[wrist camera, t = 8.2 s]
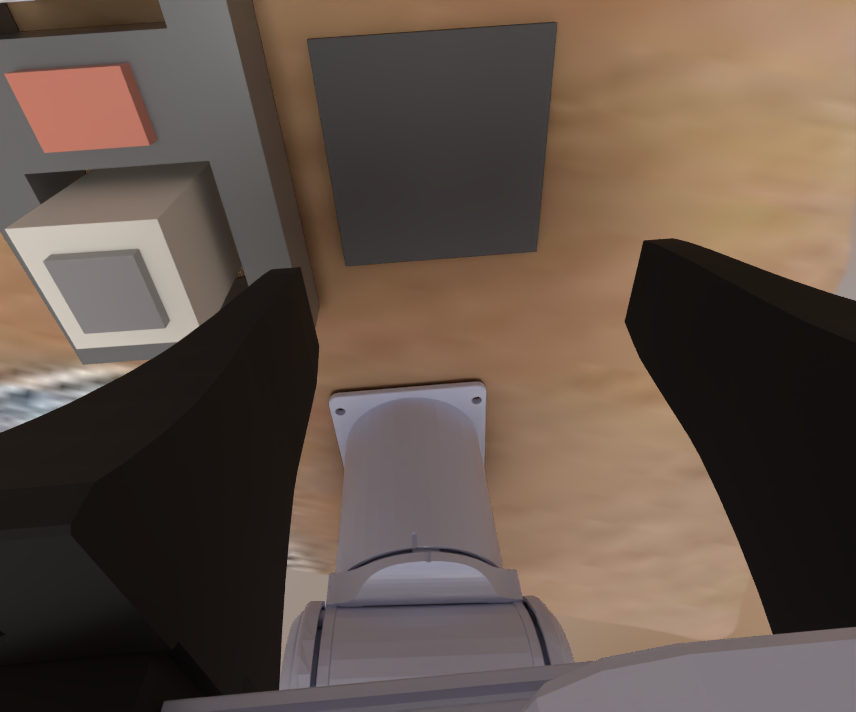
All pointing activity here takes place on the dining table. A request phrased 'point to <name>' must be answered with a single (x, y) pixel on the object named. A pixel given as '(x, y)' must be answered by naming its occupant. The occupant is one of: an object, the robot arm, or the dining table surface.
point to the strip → (152, 126)
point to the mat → (436, 139)
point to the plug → (131, 253)
